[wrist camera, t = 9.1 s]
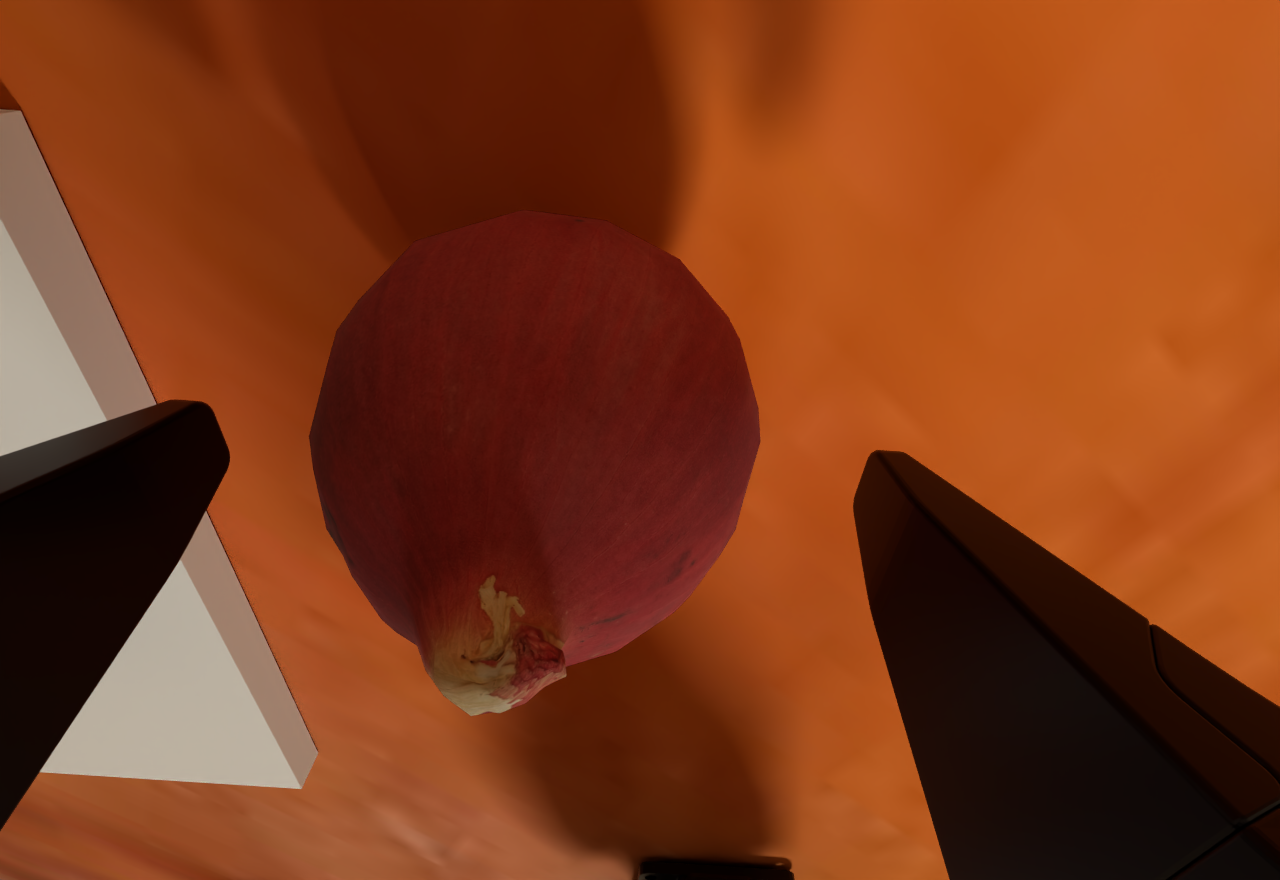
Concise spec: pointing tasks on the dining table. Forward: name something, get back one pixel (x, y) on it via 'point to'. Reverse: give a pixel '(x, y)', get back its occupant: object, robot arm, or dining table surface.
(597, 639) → the onion
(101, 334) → the build plate
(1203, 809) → the robot arm
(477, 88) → the dining table surface
